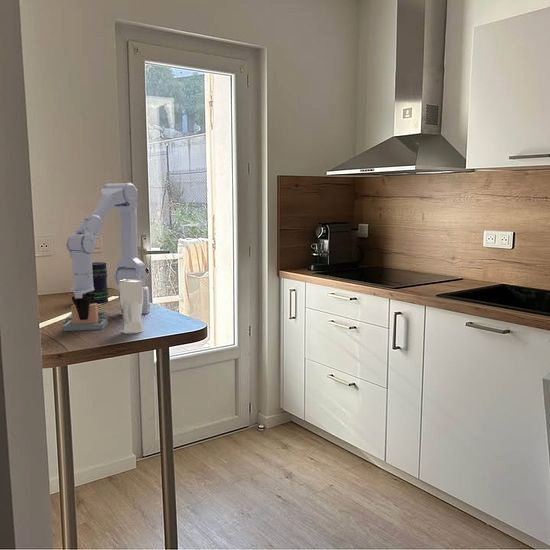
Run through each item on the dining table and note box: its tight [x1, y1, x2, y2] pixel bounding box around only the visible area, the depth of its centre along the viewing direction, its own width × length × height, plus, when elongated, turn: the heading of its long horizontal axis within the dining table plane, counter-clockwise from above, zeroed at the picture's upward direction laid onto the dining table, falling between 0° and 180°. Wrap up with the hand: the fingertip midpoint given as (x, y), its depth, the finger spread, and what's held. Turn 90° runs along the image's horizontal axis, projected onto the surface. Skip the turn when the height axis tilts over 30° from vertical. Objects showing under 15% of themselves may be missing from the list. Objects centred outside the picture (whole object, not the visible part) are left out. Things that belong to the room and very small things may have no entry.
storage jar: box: [90, 261, 109, 305], centre depth 213 cm, size 10×10×15 cm
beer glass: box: [117, 279, 144, 335], centre depth 161 cm, size 7×7×15 cm
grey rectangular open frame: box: [65, 311, 109, 323], centre depth 181 cm, size 12×8×2 cm
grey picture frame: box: [62, 318, 109, 332], centre depth 169 cm, size 12×8×2 cm
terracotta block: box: [70, 303, 99, 325], centre depth 169 cm, size 7×4×7 cm, turn 97°
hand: (85, 318), depth 169 cm, fingers closed on terracotta block, 3 cm apart
